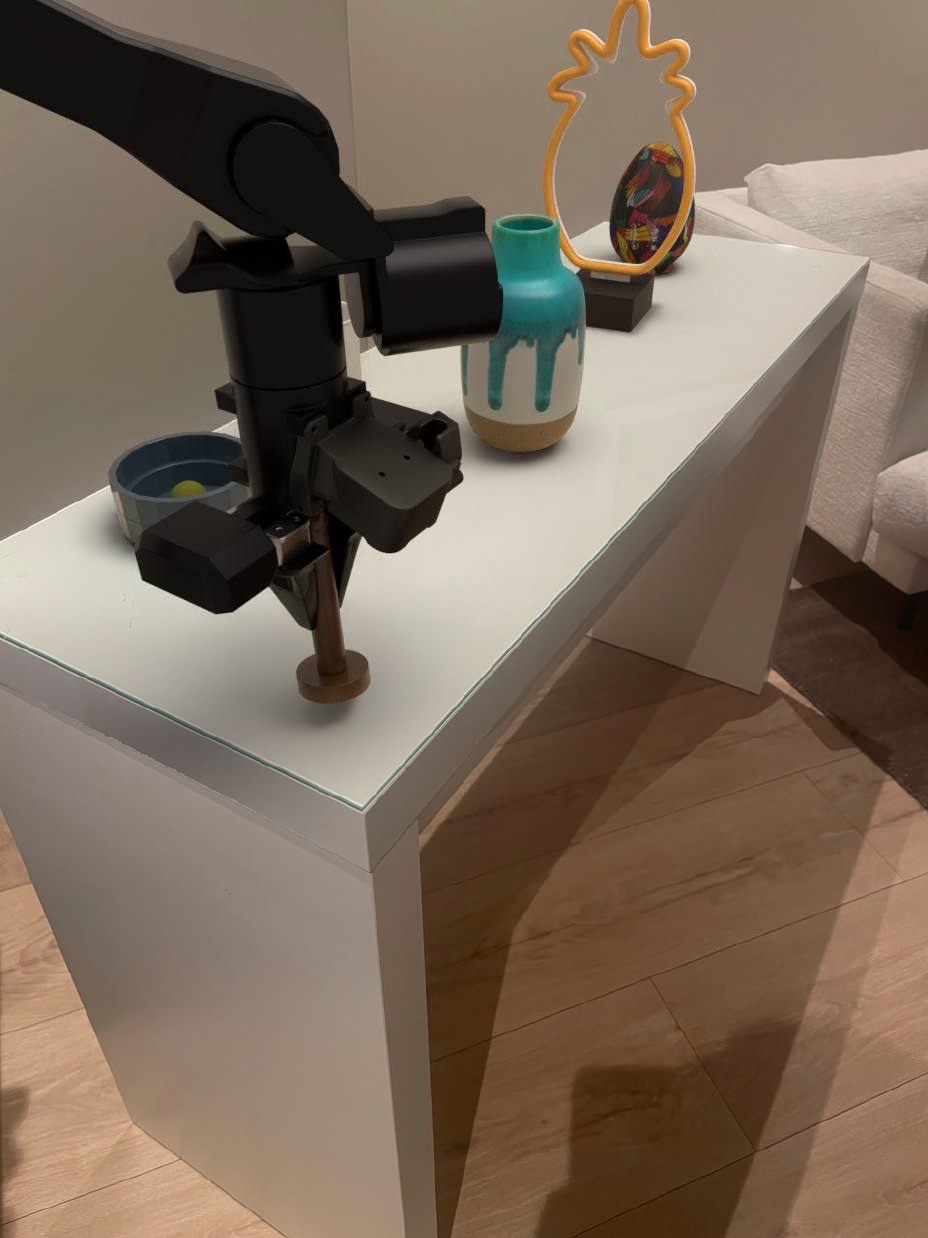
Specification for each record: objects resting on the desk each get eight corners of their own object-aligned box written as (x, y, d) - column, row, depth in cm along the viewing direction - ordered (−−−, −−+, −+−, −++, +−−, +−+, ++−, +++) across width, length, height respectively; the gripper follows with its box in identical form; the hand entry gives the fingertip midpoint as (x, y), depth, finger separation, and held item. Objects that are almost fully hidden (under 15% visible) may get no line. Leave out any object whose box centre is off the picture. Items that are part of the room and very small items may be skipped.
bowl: (93, 530, 75) (76, 475, 72) (197, 472, 83) (186, 419, 80) (193, 574, 70) (180, 517, 67) (294, 508, 78) (286, 453, 75)
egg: (705, 269, 124) (723, 143, 115) (647, 286, 119) (661, 156, 110) (646, 249, 131) (659, 129, 121) (589, 265, 126) (597, 140, 116)
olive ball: (169, 483, 76) (159, 515, 75) (183, 467, 74) (173, 499, 72) (204, 499, 77) (195, 530, 76) (219, 484, 75) (210, 515, 74)
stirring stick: (284, 686, 58) (252, 507, 52) (339, 657, 61) (315, 483, 55) (329, 713, 55) (301, 526, 50) (385, 681, 58) (364, 500, 52)
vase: (460, 416, 91) (457, 204, 79) (571, 414, 91) (585, 202, 79) (462, 471, 82) (460, 243, 71) (584, 469, 82) (602, 240, 71)
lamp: (525, 316, 111) (534, -7, 92) (550, 292, 118) (564, -15, 98) (665, 337, 106) (707, -2, 86) (684, 310, 112) (727, -10, 93)
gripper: (282, 493, 37) (322, 771, 46) (527, 338, 49) (518, 583, 59) (92, 423, 42) (164, 687, 51) (357, 298, 54) (375, 530, 64)
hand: (320, 617), depth 56 cm, fingers closed on stirring stick, 2 cm apart
